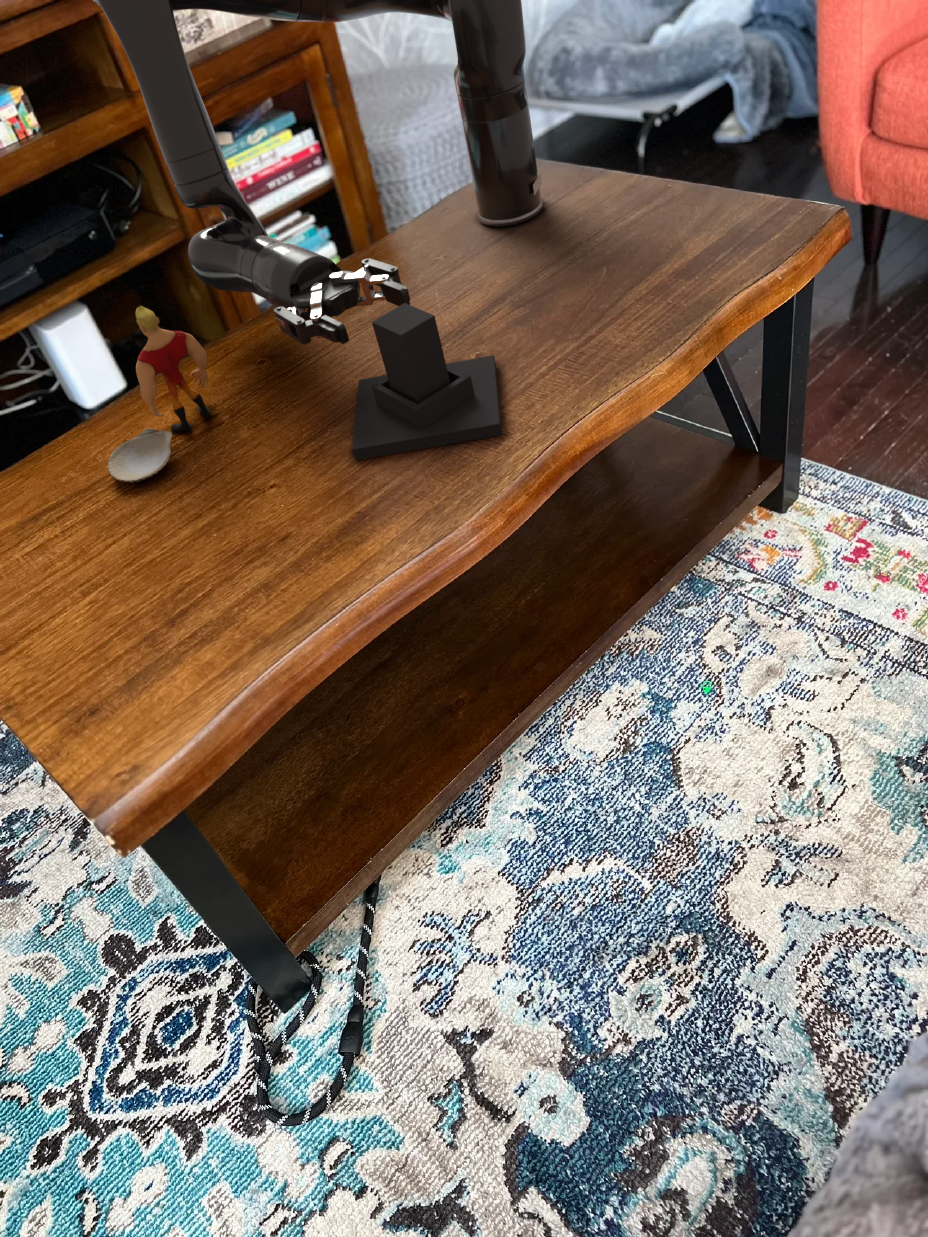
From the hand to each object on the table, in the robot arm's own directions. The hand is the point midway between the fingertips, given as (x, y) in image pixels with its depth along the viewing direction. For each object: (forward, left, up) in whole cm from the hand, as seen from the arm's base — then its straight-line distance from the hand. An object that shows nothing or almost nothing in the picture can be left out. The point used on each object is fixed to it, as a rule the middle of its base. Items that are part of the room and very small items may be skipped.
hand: (376, 316), depth 104 cm
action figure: (-2, -25, -10) cm, 27 cm away
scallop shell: (+6, -29, -10) cm, 32 cm away
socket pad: (+5, +4, -10) cm, 12 cm away
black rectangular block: (+5, +3, -8) cm, 10 cm away
